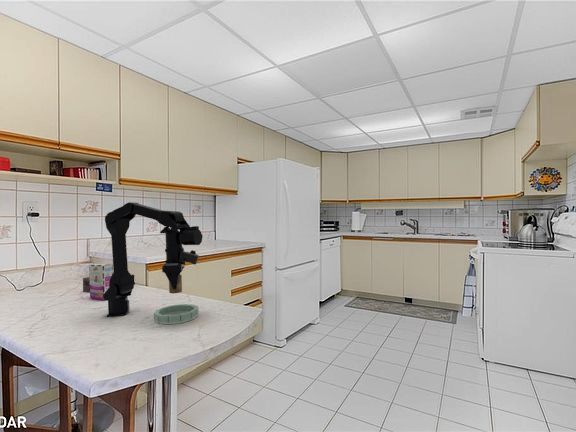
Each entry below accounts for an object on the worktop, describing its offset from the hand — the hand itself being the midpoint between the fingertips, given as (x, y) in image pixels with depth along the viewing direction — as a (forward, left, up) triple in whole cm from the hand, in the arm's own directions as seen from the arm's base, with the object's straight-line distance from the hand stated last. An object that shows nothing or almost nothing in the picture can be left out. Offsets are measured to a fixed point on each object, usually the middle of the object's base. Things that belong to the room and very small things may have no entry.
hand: (175, 287), depth 117 cm
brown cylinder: (0, 0, -2) cm, 2 cm away
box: (-49, +64, -11) cm, 81 cm away
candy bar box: (-38, +43, -11) cm, 58 cm away
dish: (0, 0, -11) cm, 11 cm away
